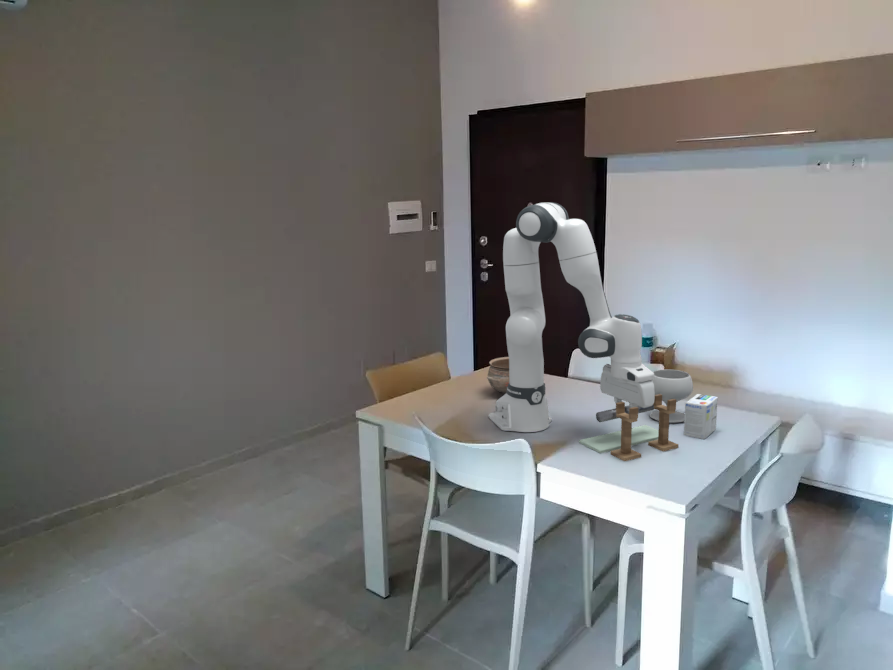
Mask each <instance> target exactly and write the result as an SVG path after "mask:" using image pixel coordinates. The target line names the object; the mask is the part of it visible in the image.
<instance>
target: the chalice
mask: <svg viewBox="0 0 893 670" xmlns="http://www.w3.org/2000/svg"><path fill="white" fill-rule="evenodd" d="M652 372H653V373H654V379H653V380H651V381H652V382H653V384H654V391H655V395H657V394H661V395H662V403H664V405H665V406H667V400H670V399H676V403H677V402H680V401H682V400H684V399H687V398H688V397H690V396H691V394H692V393H693V391H694V385H693V384H694V383H693V379H692V376H691V374H689V373H688V372H687V371H685V370H679V369H669V368H668V369H666V368H665V369H658V370H657V369H656V370H654V371H652ZM649 416H650V418H651V419H653V420H655V421H658V422H659V410H655V411H653V412H651V413H650V415H649ZM684 420H685V412H680V411H678V410H675V413H672V414H669V424H670V423H672V424H673V423H676V424H679V423H682V422H683V423H684Z"/></svg>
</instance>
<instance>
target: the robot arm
mask: <svg viewBox="0 0 893 670" xmlns="http://www.w3.org/2000/svg"><path fill="white" fill-rule="evenodd" d="M550 242H551V243H552V244H553V245H554V246H555V249H556V252H557V257H558V260H559V264H560V265H559V266H560V268H561V272H562V274H563V275H562V276H563V277H564V279H565V281H566V283H568V284H570V285H571V286H573V287H574V288H575V289H577V290H578V291H579V292H580V293H581V294H582V296H583V298H584V302H585V306H586V308H587V312H588V315H589V316H588V317H589V326H587V328H585V329H584V330H583V331H582V332H581V333H580V335H579V337H578V339H577V343H578V344H577V345H578V348H579V350H580V352H581V353H582V354H583V355H584V356H586V357H587V358H589V359H599V358H600V359H601V358H608V357H609V358H610V363H606V364H604V365H603V367H602V372H601V375H600V385H599V388H600V389H599V390H600V392H601V393H603V394H605V395H608V396H611V397H613V401H614V404H616V403H619V402H625V403H626V402H627V403H628V405H629V406H630V408H633V407H637V406H640V407H643V408H646V407H650V406H652V405H653V404H654V398H655V391H654V384H653V382H652V381H651V380H653V379H654V373H653V372H654V371H652V370H651V369H650V368H648V367H647V366H646V365H645V364H643V362H642V361H643V359H642V356H641V349H642V347H643V344H642V343H643V337H642V335H643V333H642V326H641V323H640V320H639V319H638V318H636V317H635V316H632V315H629V314H621V313H619V314H614V315H613V316H612V314H611V311H610V308H609V304H608V300H607V297H606V293H605V291H604V287H603V282H602V276H601V271H600V265H599V259H598V252H597V250H596V249H597V248H596V245H595V243H594V242H595V241H594V239H593V236H592V233H591V231H590V229H589V226H588V224H587V223H586V222H585V220H583V219H581V218H570V217H569V213H568V211H567V210H566V208H565V207H564V206H562V204H559V203H557V202H555V201H554V202H553V201H550V202H539V203H535V204H531V205H528V206H526V207H524V208H523V209H522V210H521V211H520V212H519V213H518V215H517V217H516V220H515V228H511V229H510V230H508V231H507V232H506V233H505V234H504V237H503V246H502V249H503V250H502V262H503V274H504V285H505V286H504V287H505V289H504V290H505V292H506V296H507V299H508V300H507V301H508V305H509V311H510V312H509V313H510V316H509V317H508V318H507V321H506V324H505V337H506V346H507V347H506V348H507V353H508V357H509V383H506V384H508V385H506V386H508V387H507V391H506V394H503V395H502V396H501V397H499V398H498V399H497V400H496V401H495V407H494V408H495V409H494V410H495V411H492V412H490V413H489V414H488V418H489V420H491V422H492V423H494V424H495V425H496V426H497V427H498V428H499V429H500V430H501V431H506V432H507V431H508V432H509V431H511V432H518V433H519V432H520V433H535V432H541V431H543V430H546V429H548V428H549V427H550V423H551V422H552V421H553V420H552V419H553V418H552V417H551V416H550V414H549V413H550V412H549V403H548V402H549V401H548V397H547V396H546V389H547V388H546V383H545V379H544V377H545V375H544V374H545V372H544V371H545V368H544V365H545V362H544V361H545V360H544V352H543V351H544V350H543V337H542V336H543V331H544V329H545V327H546V312H545V306H544V305H545V304H544V298H543V297H544V296H543V292H542V283H541V272H540V258H539V249H540V248H539V247H540V244H541V243H550ZM627 414H629V410H627Z"/></svg>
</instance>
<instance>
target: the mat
mask: <svg viewBox="0 0 893 670" xmlns="http://www.w3.org/2000/svg"><path fill="white" fill-rule="evenodd" d="M658 432H659V429H658V428H657V429H656V428H654V427H652V426H649V425H647V424H643V425H639V426H635V427H632V435H631V447H632V446H636V445H641V444H644V443H645V444H646V443H648V442H650V441H654V440H658ZM578 443H579V444H580V445H583V446H585V447H587V448H589V449H591V450H593V451H595V452H597V453H599V454H604V453H607V452H611V451H613V450H617V449H621V430H617V431H613V432H608V433H605V434H599V435H595V436H591V437H587V438H582V439H579V440H578Z"/></svg>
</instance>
